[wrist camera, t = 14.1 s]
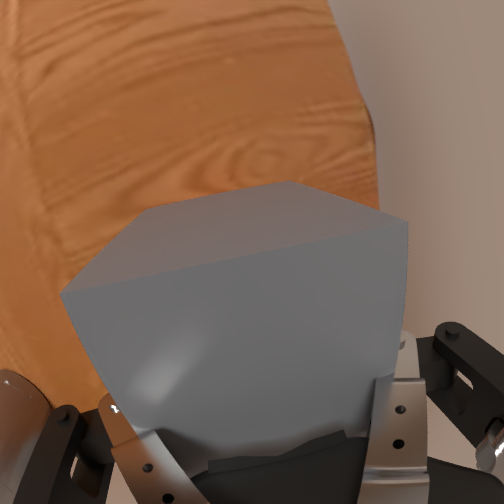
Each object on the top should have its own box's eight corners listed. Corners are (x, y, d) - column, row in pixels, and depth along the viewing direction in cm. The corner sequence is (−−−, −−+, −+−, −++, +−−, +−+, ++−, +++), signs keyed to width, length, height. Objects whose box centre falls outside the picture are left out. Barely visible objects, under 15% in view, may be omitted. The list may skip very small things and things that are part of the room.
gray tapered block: (308, 353, 17) (368, 471, 9) (197, 378, 16) (203, 510, 8) (289, 180, 13) (408, 221, 5) (145, 209, 13) (59, 293, 5)
